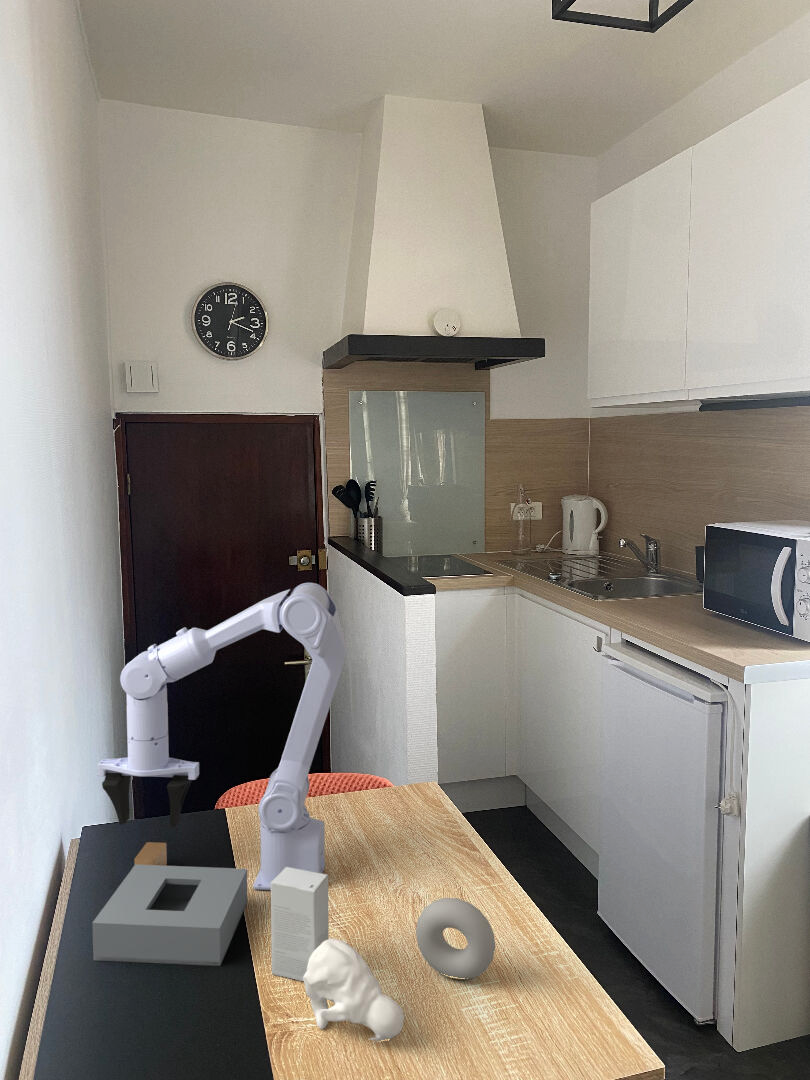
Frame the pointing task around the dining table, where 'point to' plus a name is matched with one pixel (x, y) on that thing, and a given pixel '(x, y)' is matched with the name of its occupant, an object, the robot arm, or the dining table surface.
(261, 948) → the dining table surface
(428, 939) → the donut
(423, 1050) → the dining table surface
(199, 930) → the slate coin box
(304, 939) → the skincare box
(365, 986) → the white animal sculpture
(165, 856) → the brown wooden block
